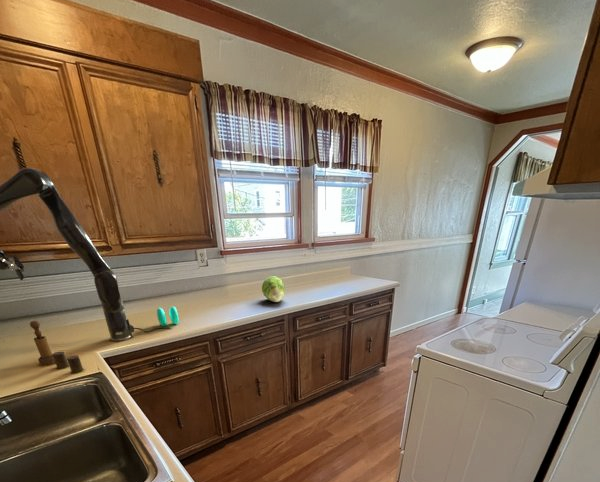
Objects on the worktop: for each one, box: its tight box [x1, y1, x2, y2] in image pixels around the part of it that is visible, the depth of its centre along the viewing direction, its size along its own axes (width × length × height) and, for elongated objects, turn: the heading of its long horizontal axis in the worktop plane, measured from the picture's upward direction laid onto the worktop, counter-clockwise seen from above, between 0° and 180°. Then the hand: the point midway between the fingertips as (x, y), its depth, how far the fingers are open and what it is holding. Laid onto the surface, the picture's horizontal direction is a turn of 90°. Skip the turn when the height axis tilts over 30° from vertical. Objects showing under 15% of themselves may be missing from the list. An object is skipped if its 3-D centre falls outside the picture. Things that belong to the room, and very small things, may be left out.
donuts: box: [156, 306, 180, 327], centre depth 185 cm, size 10×10×10 cm
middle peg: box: [52, 351, 70, 370], centre depth 133 cm, size 4×4×6 cm
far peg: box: [66, 354, 84, 374], centre depth 129 cm, size 4×4×6 cm
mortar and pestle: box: [29, 320, 56, 367], centre depth 134 cm, size 7×6×18 cm
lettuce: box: [261, 275, 286, 303], centre depth 236 cm, size 17×23×16 cm
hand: (9, 280), depth 129 cm, fingers open, 8 cm apart
